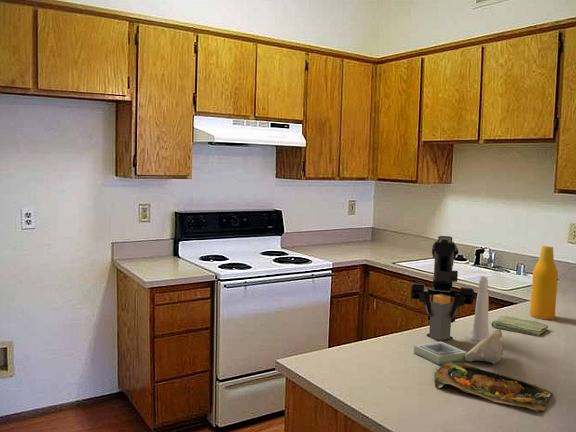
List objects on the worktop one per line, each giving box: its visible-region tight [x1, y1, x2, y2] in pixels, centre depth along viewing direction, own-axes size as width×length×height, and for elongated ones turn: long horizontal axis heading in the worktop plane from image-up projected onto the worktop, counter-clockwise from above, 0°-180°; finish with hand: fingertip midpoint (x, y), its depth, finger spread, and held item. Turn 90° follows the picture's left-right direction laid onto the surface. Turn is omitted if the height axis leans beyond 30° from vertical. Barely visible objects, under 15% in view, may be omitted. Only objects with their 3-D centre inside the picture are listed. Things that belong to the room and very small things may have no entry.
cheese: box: [465, 328, 504, 365], centre depth 163 cm, size 15×7×15 cm
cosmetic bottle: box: [470, 275, 490, 343], centre depth 183 cm, size 6×6×22 cm
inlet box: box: [413, 340, 467, 366], centre depth 165 cm, size 11×11×3 cm
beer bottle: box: [529, 245, 559, 321], centre depth 215 cm, size 9×9×29 cm
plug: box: [428, 294, 453, 341], centre depth 163 cm, size 4×4×13 cm
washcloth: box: [490, 315, 549, 337], centre depth 199 cm, size 13×18×3 cm
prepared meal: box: [433, 362, 553, 413], centre depth 141 cm, size 28×4×18 cm
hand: (440, 317), depth 161 cm, fingers closed on plug, 6 cm apart
